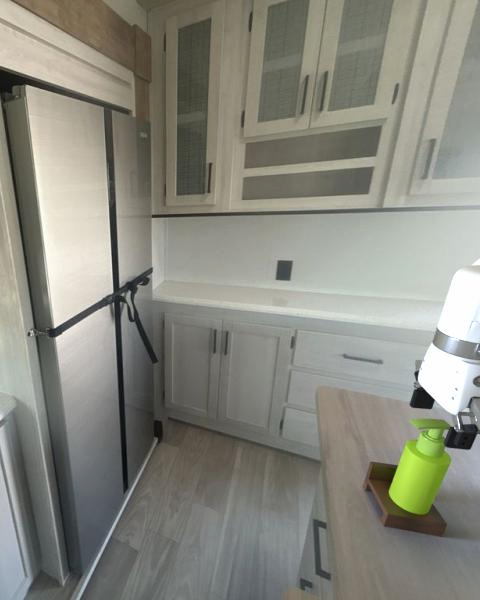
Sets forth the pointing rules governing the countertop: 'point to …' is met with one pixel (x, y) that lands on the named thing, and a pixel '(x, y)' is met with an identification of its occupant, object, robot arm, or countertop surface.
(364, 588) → the countertop surface
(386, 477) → the walnut shelf
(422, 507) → the soap dispenser
